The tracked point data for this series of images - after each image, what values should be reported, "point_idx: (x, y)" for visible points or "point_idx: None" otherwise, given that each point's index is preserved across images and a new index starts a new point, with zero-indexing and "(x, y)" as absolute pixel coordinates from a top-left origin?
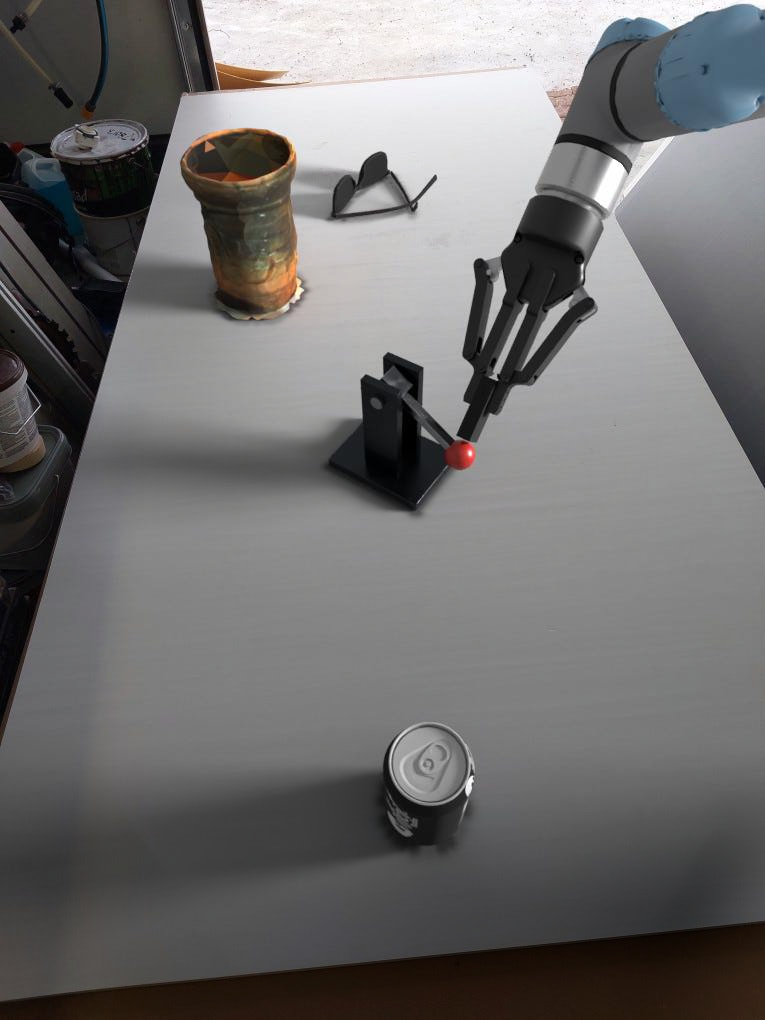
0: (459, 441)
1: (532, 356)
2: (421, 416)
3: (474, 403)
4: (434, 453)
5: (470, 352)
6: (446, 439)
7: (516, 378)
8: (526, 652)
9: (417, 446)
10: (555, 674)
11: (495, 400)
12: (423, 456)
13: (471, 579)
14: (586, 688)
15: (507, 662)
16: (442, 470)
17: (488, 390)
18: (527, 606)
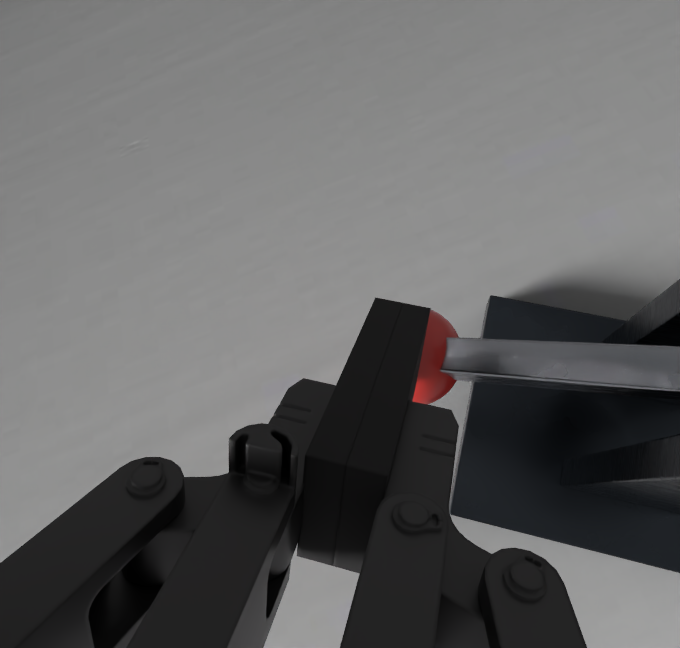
0: (422, 360)
1: (76, 588)
2: (595, 346)
3: (392, 381)
4: (514, 485)
5: (510, 584)
6: (468, 347)
7: (200, 497)
8: (172, 88)
9: (571, 462)
10: (118, 72)
11: (303, 418)
12: (541, 463)
13: (305, 184)
14: (67, 71)
15: (201, 61)
16: (468, 430)
17: (338, 419)
18: (184, 171)
